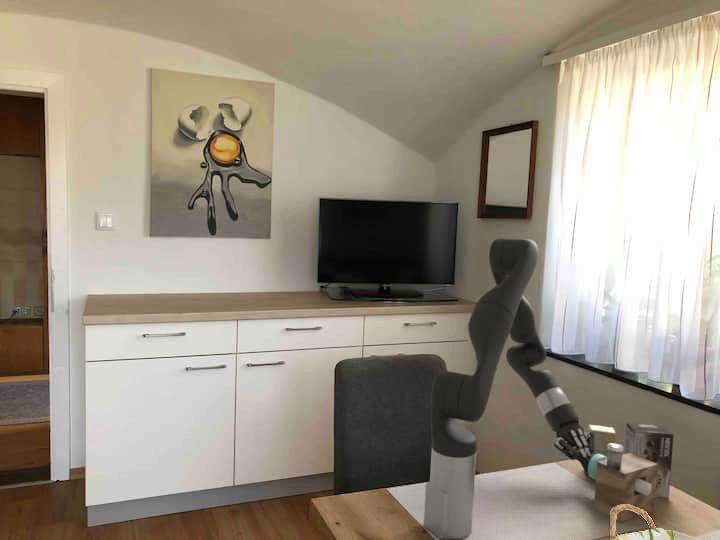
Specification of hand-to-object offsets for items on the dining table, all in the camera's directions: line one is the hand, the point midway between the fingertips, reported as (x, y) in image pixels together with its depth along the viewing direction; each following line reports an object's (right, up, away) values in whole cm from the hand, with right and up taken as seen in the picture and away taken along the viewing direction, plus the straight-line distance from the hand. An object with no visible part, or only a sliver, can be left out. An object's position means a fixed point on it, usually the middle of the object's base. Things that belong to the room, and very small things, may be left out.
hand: (593, 473), depth 141 cm
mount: (+4, -6, -7) cm, 10 cm away
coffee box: (+14, -5, +3) cm, 15 cm away
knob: (+4, -2, -6) cm, 7 cm away
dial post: (0, +5, -11) cm, 12 cm away
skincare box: (+6, -4, +12) cm, 14 cm away
